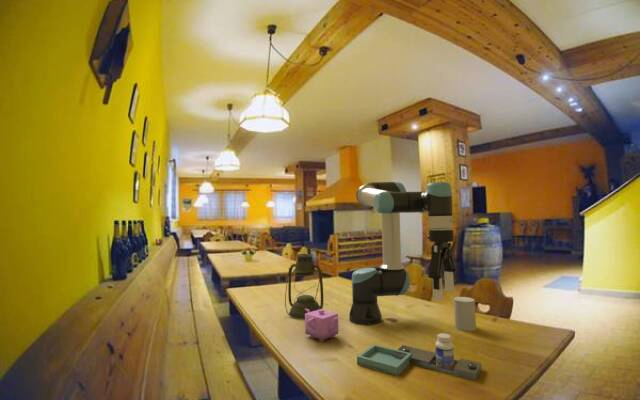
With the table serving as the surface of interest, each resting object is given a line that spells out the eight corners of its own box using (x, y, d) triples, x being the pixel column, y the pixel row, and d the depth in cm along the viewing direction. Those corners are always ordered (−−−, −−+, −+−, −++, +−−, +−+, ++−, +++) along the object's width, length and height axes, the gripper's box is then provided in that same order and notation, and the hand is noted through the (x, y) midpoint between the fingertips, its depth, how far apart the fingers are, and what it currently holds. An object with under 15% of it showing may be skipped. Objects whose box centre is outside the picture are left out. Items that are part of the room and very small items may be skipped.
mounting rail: (393, 359, 107) (392, 351, 107) (402, 350, 114) (402, 343, 114) (476, 380, 92) (475, 371, 92) (481, 369, 98) (481, 361, 99)
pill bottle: (433, 363, 103) (431, 332, 104) (449, 362, 104) (447, 331, 104) (440, 371, 98) (439, 339, 99) (457, 370, 98) (456, 338, 99)
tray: (357, 364, 104) (356, 356, 104) (374, 351, 114) (373, 344, 114) (397, 376, 96) (397, 367, 96) (412, 361, 105) (411, 353, 106)
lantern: (331, 311, 164) (329, 252, 166) (315, 321, 149) (313, 256, 151) (297, 307, 174) (296, 251, 176) (278, 316, 158) (277, 255, 160)
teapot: (341, 331, 135) (340, 305, 136) (340, 343, 122) (339, 314, 122) (305, 331, 136) (304, 305, 137) (301, 343, 123) (300, 314, 123)
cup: (478, 331, 131) (476, 302, 131) (457, 330, 132) (456, 301, 133) (473, 325, 139) (471, 297, 139) (453, 324, 140) (452, 296, 141)
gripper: (441, 230, 92) (445, 305, 91) (461, 228, 112) (465, 289, 111) (416, 230, 97) (419, 302, 95) (440, 228, 117) (442, 287, 115)
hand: (444, 295), depth 103 cm, fingers open, 13 cm apart
